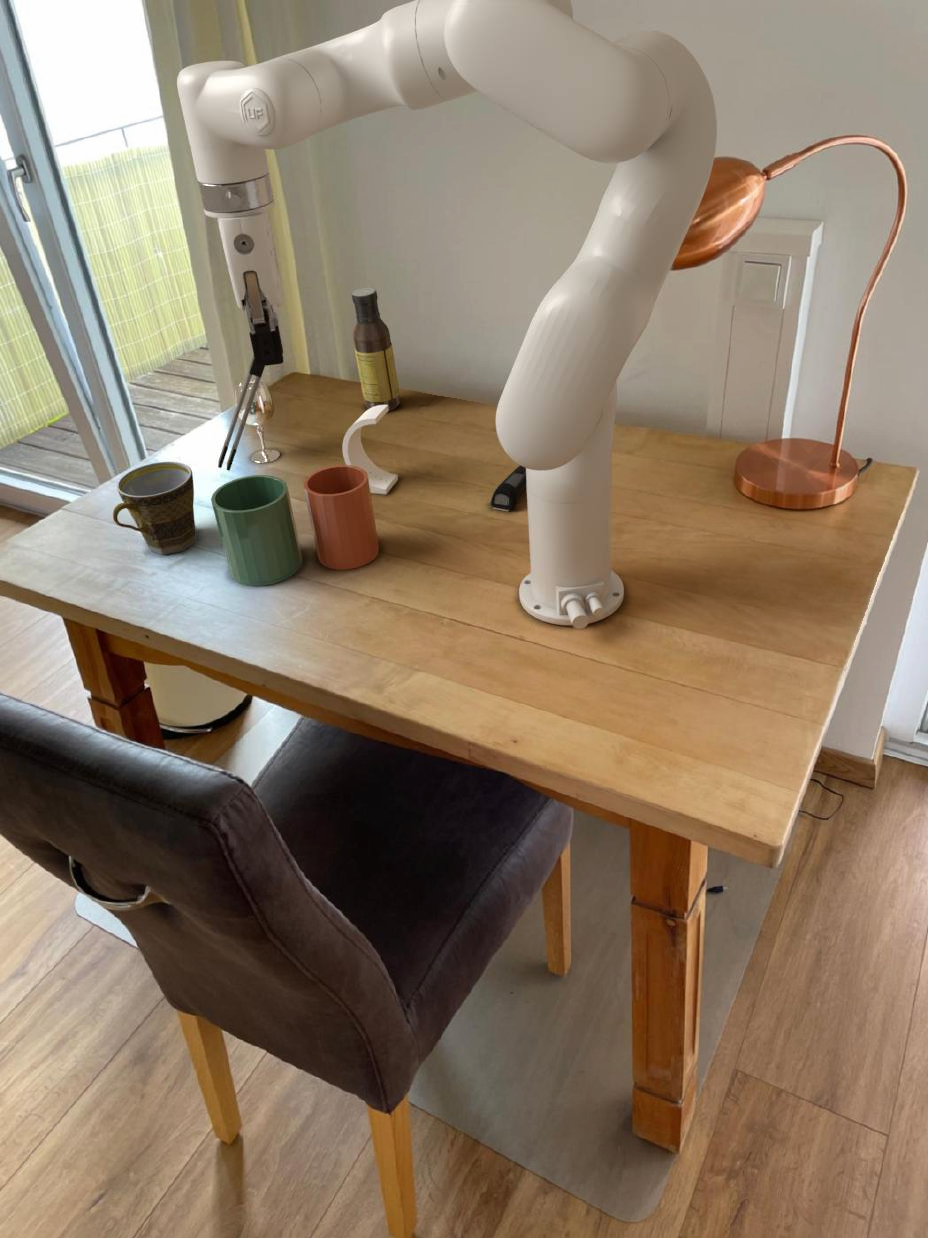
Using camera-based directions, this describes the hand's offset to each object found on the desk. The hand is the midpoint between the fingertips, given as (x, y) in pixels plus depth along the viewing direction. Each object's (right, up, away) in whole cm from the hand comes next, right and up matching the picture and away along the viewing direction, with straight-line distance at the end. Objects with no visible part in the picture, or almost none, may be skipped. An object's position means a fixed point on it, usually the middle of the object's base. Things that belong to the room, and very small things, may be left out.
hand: (269, 358), depth 117 cm
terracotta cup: (+7, -22, +17) cm, 28 cm away
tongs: (-3, -11, +7) cm, 14 cm away
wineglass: (-9, -5, +43) cm, 44 cm away
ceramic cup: (-19, -21, +22) cm, 36 cm away
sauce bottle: (+9, +6, +55) cm, 56 cm away
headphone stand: (+9, -11, +32) cm, 35 cm away
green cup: (-4, -23, +16) cm, 28 cm away
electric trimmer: (+31, -11, +28) cm, 43 cm away
